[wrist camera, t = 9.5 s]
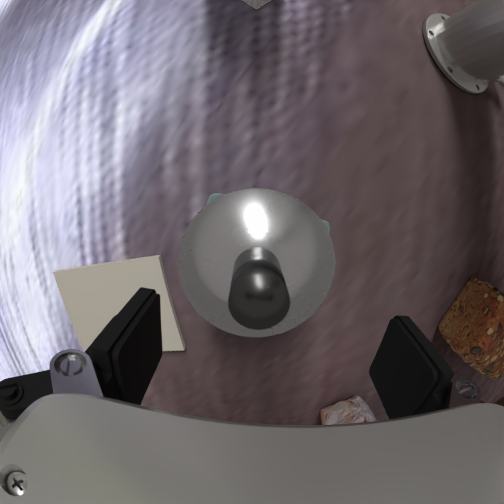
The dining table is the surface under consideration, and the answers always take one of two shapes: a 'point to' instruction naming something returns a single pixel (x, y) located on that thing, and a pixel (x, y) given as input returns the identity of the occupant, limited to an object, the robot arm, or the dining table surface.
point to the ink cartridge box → (256, 3)
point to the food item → (347, 412)
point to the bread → (477, 327)
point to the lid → (256, 262)
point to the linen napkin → (115, 296)
